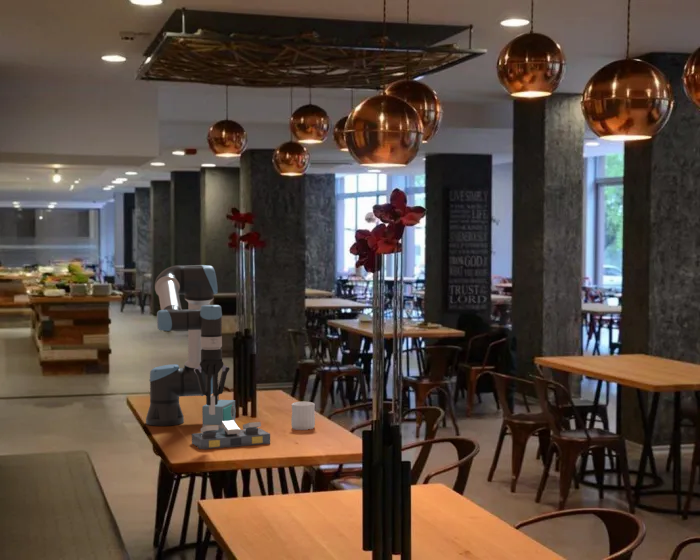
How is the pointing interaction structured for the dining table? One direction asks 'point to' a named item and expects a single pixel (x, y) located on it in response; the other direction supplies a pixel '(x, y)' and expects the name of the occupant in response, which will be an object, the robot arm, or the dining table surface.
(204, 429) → the rocker
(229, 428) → the rocker
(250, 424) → the rocker
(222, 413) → the radio
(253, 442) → the console
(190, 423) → the dining table surface
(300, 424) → the cup
